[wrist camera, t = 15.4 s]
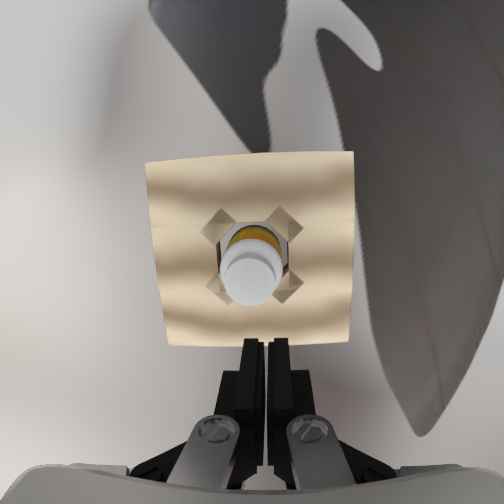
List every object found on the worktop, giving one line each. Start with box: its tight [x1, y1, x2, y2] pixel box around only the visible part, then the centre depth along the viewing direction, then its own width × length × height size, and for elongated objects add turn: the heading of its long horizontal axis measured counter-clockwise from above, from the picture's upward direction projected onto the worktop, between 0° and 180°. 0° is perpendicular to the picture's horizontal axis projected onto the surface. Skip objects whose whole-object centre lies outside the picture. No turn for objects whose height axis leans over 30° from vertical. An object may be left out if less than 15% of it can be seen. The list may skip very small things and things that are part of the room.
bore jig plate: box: [145, 151, 355, 346], centre depth 33 cm, size 20×20×2 cm
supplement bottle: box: [220, 225, 283, 306], centre depth 30 cm, size 5×5×10 cm
